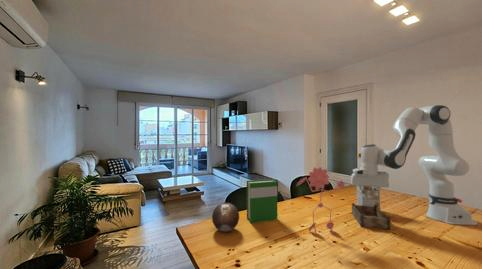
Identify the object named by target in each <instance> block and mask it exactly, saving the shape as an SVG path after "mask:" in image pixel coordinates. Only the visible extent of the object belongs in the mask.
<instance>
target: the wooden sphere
mask: <svg viewBox="0 0 482 269" xmlns="http://www.w3.org/2000/svg"><path fill="white" fill-rule="evenodd" d="M211 216H212V217H211V222H212V223H213V226H214V227H215V228H216V229H217V230H219V231H220V232H230V231H232V230H234V229H235V228H236V227H237V225H238V224H239V222H240V213H239V210H238V208H237V207H236V206H235V205H234V204H233V203H231V202H222V203H219V204H218V205H217V206H216V207H215V208H214V209H213V211H212V215H211Z"/></svg>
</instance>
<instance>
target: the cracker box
mask: <svg viewBox="0 0 482 269" xmlns="http://www.w3.org/2000/svg"><path fill="white" fill-rule="evenodd" d="M374 188H375V189H378V188H377V187H374ZM356 205H363V206H374V205H377V206H378V208H379V209H380V210H381V190H380V191H379V200H373V199H366V198H365V197H364V196H363V195H362V194H361V192H360V189H359V187H358V186H356Z"/></svg>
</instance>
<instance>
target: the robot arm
mask: <svg viewBox="0 0 482 269" xmlns="http://www.w3.org/2000/svg"><path fill="white" fill-rule="evenodd" d="M450 117H451V110H450V109H449V108H448V106H446V105H440V104H438V105H437V104H436V105H427V106H422V107H414V106H413V107H412V106H410V107H408V108H406V109H404V111H403V112H402V113H401V114H400V115H399V116H398V117H397V119H396V120H395V122H394V123H393V125H392V130H393V133H394V134H395V135H397V136H398V137H399V138H400V139H399V141H398V143H397V145H396V147H395V148H394V149H392V150H386V149H382V148H381V147H378V146H377V145H376V144H374V143H372V144H365V145H363V146H362V148H361V150H360V161H361V164H360V167H356V168H353V169H352V174H350V175H351V176H350V184H351V185H352V186H353V187H354V186H355V187H357V186H358V187H359V189H360V192H361V193H364V190H362V189H361V188H362V186H368V187H377V188H378V189H377V190H378V191H380V192H381V189H382V188H389V186H390V180H389V178H390V174H389V173H388V172H387V171H379V166H382V167H386V168H391V169H394V170H399V169H401V168H402V167H403V166H404V165H405V163H406V160H407V155H408V153H409V152H410V149H411V147H412V146H413V143H414V141H415V139H416V130H417V128H418V127H419V125H427V126H428V147H429V148H430V149H432V150H433V151H434V152H435V153H436V154H437V155H432V154H431V155H423V156H421V157H420V158H419V159H418V161H417V164H418V167H419V168H420V169H421V170H422V171H423V172H424V174H425V176H426V177H427V181H428V183H429V194H428V207H427V208H428V210H427V212H426V215H425V216H426V217H427V218H429V219H432V220H435V221H438V222H443V223H446V224H449V225H462V226H463V225H465V226H466V225H467V226H472V225H473V226H478V225H479V224H478V222H477V221H476V220H475V219H473V218H472V215H471V212H470V211H469V210H467V209H466V208H464V207H463V206H462V205H461V203H463V200H462V199H460V198H457V197H455V185H454V184H453V183H452V182H451V181H450V180H449V179H448V178H447V177H446V176H451V177H459V176H460V177H462V176H465V175H467V174H468V173H469V170H470V166H469V163H468V162H467V161H466V160H465V159H463V157H461V156H460V155H459V154H458V153H457V150H456V148H455V145H454V131H453V125H452V122H451V120H450V119H451V118H450ZM459 203H460V204H459Z"/></svg>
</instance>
